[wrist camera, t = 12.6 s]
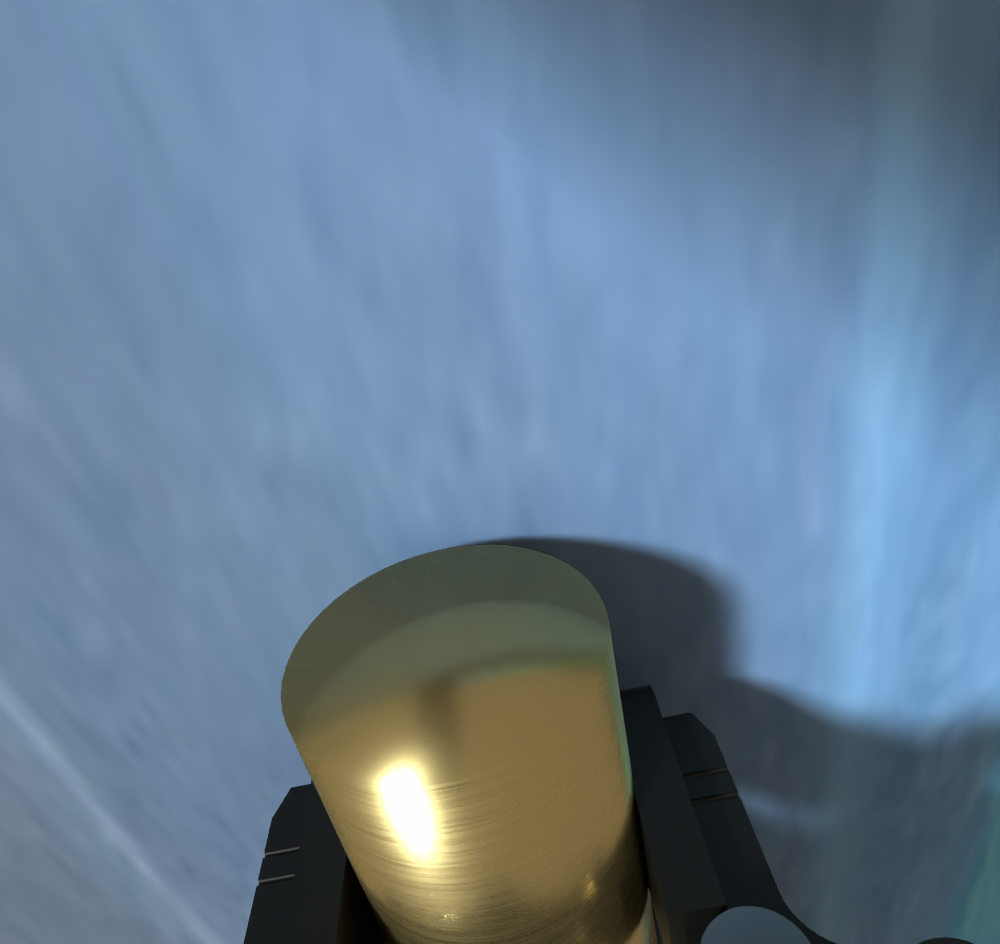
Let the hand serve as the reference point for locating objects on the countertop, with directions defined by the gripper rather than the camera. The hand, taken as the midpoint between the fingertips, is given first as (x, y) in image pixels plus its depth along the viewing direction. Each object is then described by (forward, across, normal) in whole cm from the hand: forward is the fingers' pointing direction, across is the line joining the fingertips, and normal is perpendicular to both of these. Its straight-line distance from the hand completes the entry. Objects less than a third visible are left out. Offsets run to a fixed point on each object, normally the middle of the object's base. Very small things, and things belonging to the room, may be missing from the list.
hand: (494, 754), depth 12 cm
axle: (-2, 0, +2) cm, 3 cm away
